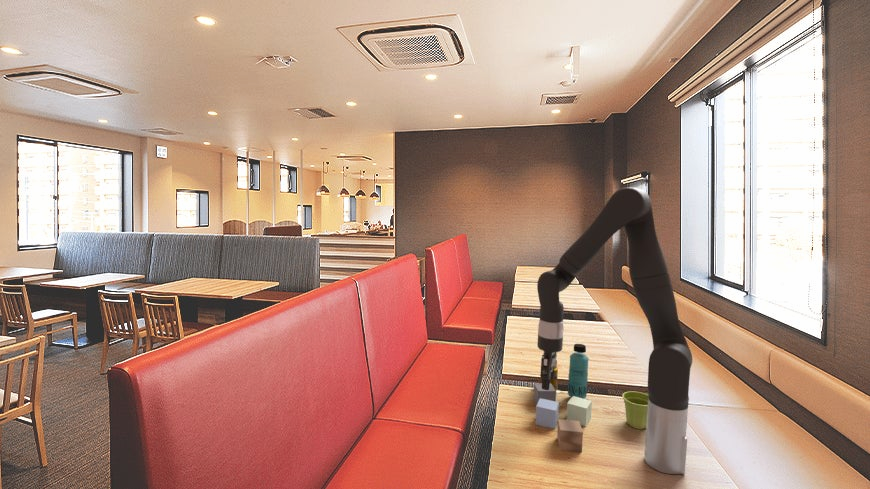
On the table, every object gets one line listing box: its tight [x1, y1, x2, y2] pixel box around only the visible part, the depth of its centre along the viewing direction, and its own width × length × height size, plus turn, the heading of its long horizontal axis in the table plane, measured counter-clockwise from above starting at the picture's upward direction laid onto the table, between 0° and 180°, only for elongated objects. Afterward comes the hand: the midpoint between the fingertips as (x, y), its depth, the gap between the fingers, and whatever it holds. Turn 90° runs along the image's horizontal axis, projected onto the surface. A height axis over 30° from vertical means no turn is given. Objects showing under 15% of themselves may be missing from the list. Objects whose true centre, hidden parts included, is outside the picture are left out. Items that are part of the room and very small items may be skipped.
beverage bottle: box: [567, 343, 590, 399], centre depth 146 cm, size 6×7×20 cm
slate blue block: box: [535, 398, 560, 430], centre depth 131 cm, size 6×6×6 cm
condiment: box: [530, 359, 562, 395], centre depth 153 cm, size 7×8×12 cm
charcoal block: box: [533, 382, 557, 406], centre depth 143 cm, size 6×6×6 cm
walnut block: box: [556, 418, 584, 453], centre depth 119 cm, size 6×6×6 cm
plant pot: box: [621, 390, 648, 430], centre depth 130 cm, size 9×9×9 cm
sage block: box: [566, 396, 593, 427], centre depth 133 cm, size 6×6×6 cm
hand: (547, 383), depth 130 cm, fingers open, 8 cm apart
